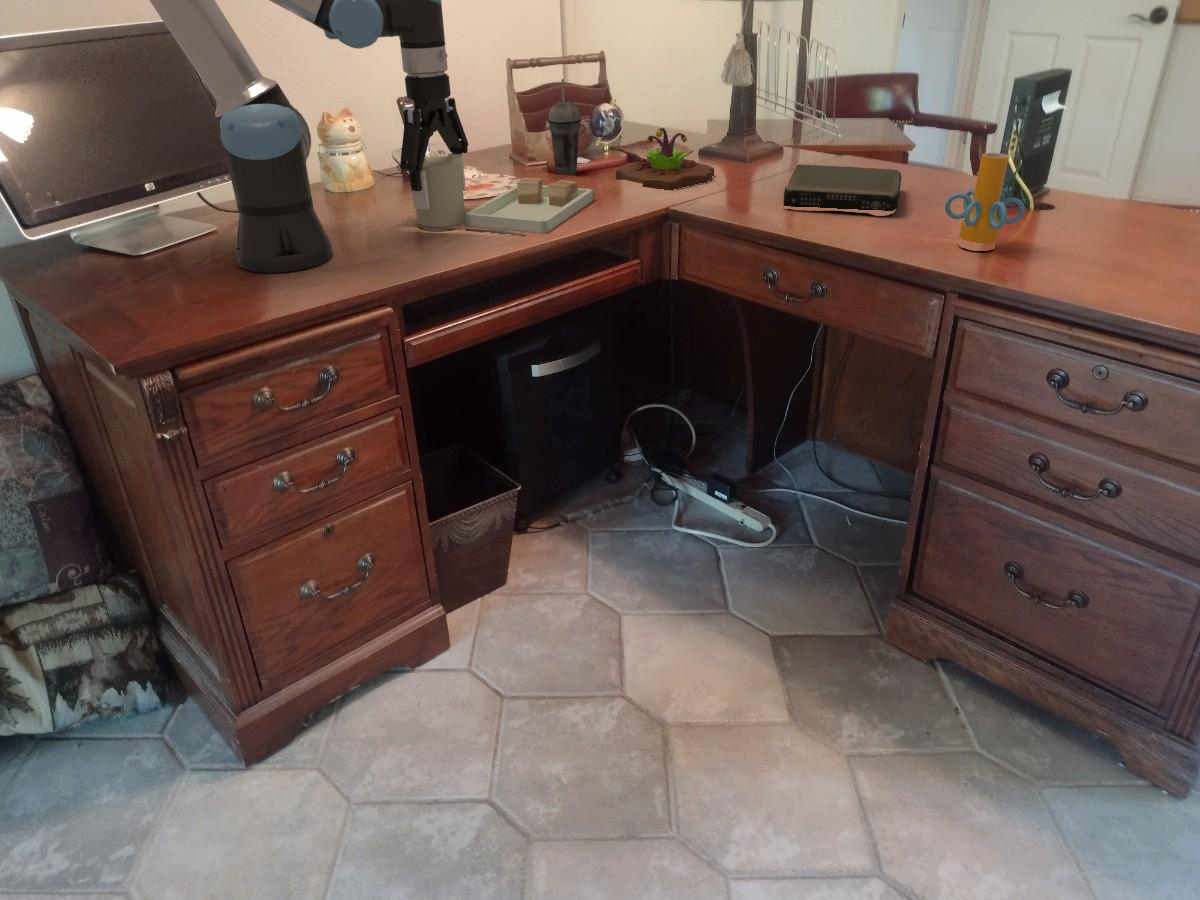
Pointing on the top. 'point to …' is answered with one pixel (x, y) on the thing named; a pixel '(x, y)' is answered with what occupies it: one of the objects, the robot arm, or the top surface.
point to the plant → (665, 167)
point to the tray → (524, 213)
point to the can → (442, 194)
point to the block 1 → (530, 191)
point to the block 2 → (562, 192)
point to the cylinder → (986, 202)
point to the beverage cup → (565, 135)
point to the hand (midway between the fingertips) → (441, 198)
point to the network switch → (843, 188)
